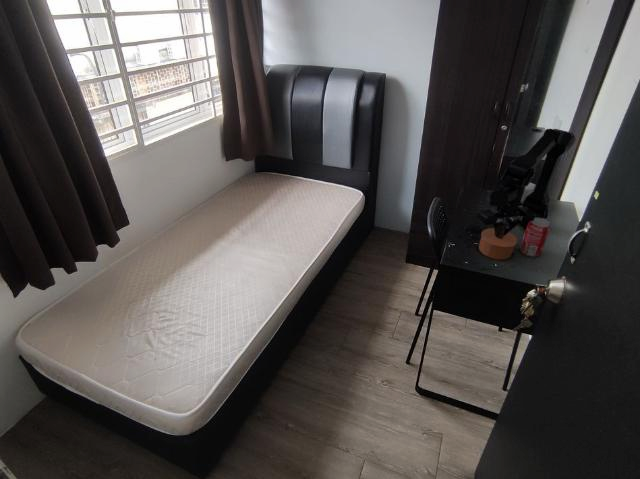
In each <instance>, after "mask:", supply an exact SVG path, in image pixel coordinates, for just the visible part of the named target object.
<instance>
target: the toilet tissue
mask: <svg viewBox="0 0 640 479" xmlns="http://www.w3.org/2000/svg"><path fill="white" fill-rule="evenodd" d="M535 186H536V184H534V183H533V182H530V183H529V185H528V186H526V187H525V190H524V193H523V196H522V199H521V202H522V203H523V201H524V200H525V198H526V197H527V196H528V195H529V194H530V193H532V192H533V191H534V189H535ZM522 205H523V204H522ZM519 207H522V206H519Z"/></svg>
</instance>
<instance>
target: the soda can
mask: <svg viewBox="0 0 640 479" xmlns="http://www.w3.org/2000/svg"><path fill="white" fill-rule="evenodd" d="M550 231H551V222H550V221H549V220H547V219H543V218H534V221H530V222H529V223H528V225H527V228H526V230H525V231H524V234H523V236H522V239H521V242H520V246H519V250H520V252H521V253H522V254H523V255H524V256H527V257H532V258H533V257H538V256H540V255H541V253H542V251H543V249H544V247H545V243H546V241H547V238H548V236H549V233H550Z"/></svg>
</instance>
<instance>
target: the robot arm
mask: <svg viewBox="0 0 640 479" xmlns="http://www.w3.org/2000/svg"><path fill="white" fill-rule="evenodd" d="M576 139H577V138H576V136H575V134H574V132H571V131H566V130H563V129H558V128H546V129H545V130H544V132H543V133H542V136H541V137H540V138H539V139H538V140H537V141H536V142H535V143H534V144H533V146H532V147H530V149H529V150H527V152H526V153H525V154H522V155H518V156H517V157H515V159H513V160H511V161H510V162H509V163H508V165H507V167H506V169H505V170H504V172H503V173H502V175H501V176H500V178H499V182H502V183H503V184H501V185H499V187H498V188H496V189H495V190H493V191H492V192H491V193H490V195H487V196H486V199H485V205H487V206H489V207H490V208H491V207H493V208H494V210H495V211H496V212H493V210H491V209H481V210H479V211H478V212H477V215H476V217H477V219H479V221H481V222H482V224H483V225H486V226H490V225H491V226H492V225H493V228H494V232H495V236H496V237H498V235H499V234H500V232H501V230H502V228H503V227H505V228H506V230H505V233H504V236H505V235H506V234H507V233H508V232H510V233H511V231H512V230H513V229H515V228H516V227H517V226H520V227H522V228H523V230H525V231H526V228H527V225H528V223H529V222H530V221H534V218H543V219H545V220H547V219H548V217H549V214H550V212H551V209H550V204H549V203H550V201H551V198H550V195H549V190H550V187H551V185H552V182H553V179H554V177H555V175H556V172H557V170H558V166H559V164H560V162H561V159H562V156H563V155H565V154H566V153H568V151H570V150H571V148H572V147H573V146H574V144H575V142H576ZM544 157H545V158H544ZM543 159H544V161H543V164H542V167H541V170H540V172H539V176H538V178H537V179H536V180H537V181H536V183H535V185H536V186H535V189H534V191H533V192H532V193H530V194H529V195H528V196H527V197H526V198H525V200H524V201H523V203H522V202H521V199H522V196H523V193H524V190H525V187H526V186H528V185H529V183H532V181H533V179H534V178H535V176H536V171H537V166H538V164H540V162H541V161H542V160H543ZM522 204H523V205H522ZM519 206H522V207H519ZM504 219H505V222H504Z"/></svg>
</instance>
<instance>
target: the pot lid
mask: <svg viewBox="0 0 640 479" xmlns="http://www.w3.org/2000/svg"><path fill="white" fill-rule="evenodd" d="M505 230H506V228H505V227H503V228H502V230H501V232H500V234H499V235H498V237H496V236H495V232H494V227H490V228H485V229H483V230H482V231H481V237H482V238H483V239H484V240H485V241H486V242H487V243H489V244H491V245H494V246H497V247H503V248H509V247H513V246H514V247H515V246H516V245H517V244H518V239H517V237H516V236H515V235H514V234H513V233H511V231H510V232H508V233H507V234H506V235H505V236H504V233H505Z"/></svg>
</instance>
